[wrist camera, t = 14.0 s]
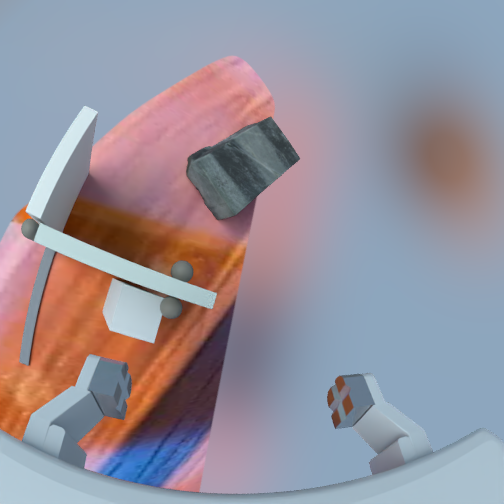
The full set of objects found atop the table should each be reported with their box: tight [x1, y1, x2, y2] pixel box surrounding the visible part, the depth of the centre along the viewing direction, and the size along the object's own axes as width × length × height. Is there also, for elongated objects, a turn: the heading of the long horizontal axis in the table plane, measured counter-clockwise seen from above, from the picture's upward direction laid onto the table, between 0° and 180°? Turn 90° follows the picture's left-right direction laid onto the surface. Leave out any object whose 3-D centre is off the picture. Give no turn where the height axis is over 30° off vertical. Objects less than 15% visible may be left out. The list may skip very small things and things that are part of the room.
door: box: [21, 219, 217, 319], centre depth 21 cm, size 15×5×13 cm, turn 70°
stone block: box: [186, 117, 300, 220], centre depth 35 cm, size 9×14×5 cm, turn 132°
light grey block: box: [103, 278, 164, 343], centre depth 24 cm, size 4×4×9 cm
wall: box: [19, 106, 98, 365], centre depth 17 cm, size 23×1×14 cm, turn 160°
